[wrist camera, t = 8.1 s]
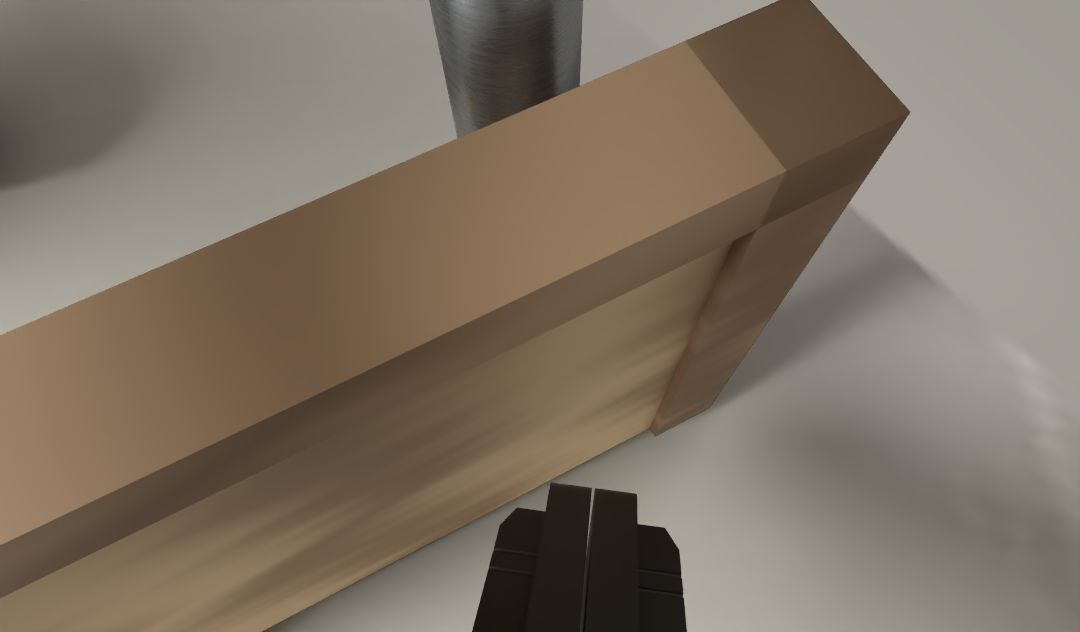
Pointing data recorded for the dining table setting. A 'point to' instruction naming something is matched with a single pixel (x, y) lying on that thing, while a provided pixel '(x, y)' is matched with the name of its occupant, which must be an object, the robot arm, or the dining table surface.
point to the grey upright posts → (506, 55)
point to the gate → (424, 337)
